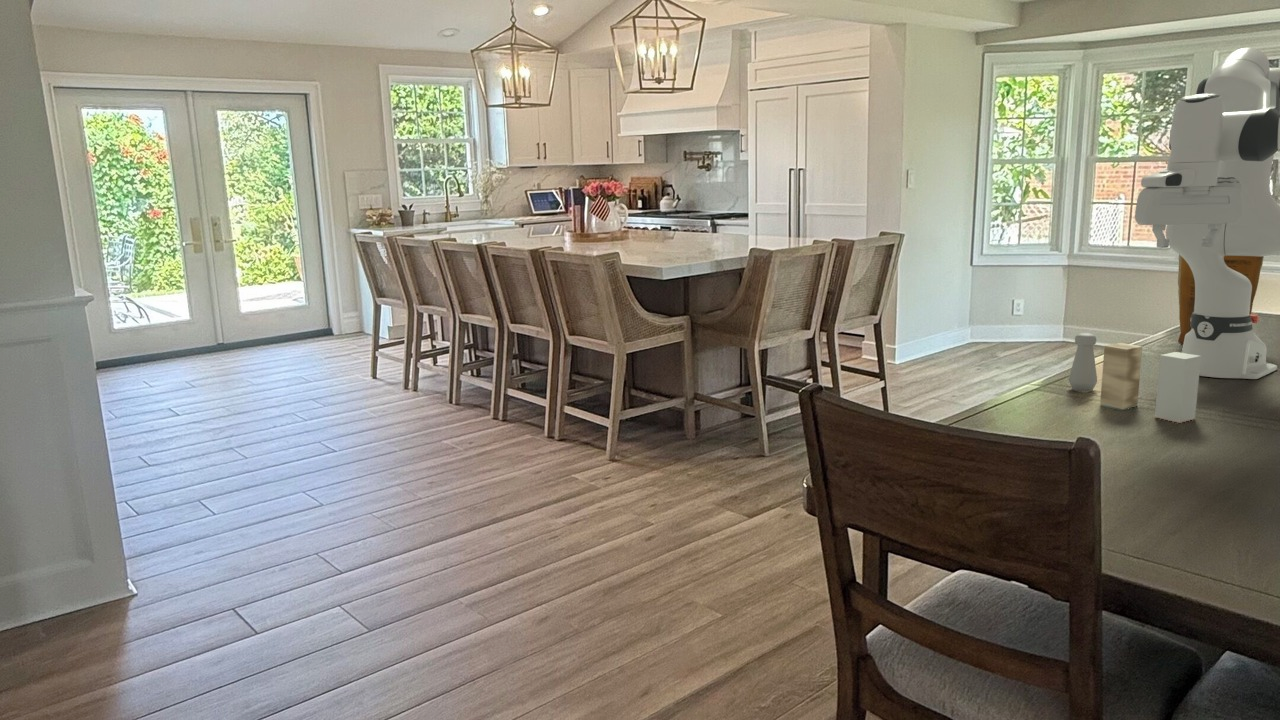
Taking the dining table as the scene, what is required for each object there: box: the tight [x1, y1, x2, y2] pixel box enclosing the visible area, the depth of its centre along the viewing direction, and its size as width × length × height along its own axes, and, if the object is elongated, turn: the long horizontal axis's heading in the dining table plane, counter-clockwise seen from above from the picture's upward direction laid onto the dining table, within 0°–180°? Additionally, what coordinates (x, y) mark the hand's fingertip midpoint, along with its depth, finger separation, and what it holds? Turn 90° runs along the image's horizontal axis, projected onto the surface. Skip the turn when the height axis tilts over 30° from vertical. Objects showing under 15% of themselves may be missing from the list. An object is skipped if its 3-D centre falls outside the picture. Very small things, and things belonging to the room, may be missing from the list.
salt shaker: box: [1068, 332, 1098, 393], centre depth 200 cm, size 6×6×13 cm
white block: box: [1154, 351, 1201, 424], centre depth 176 cm, size 5×5×13 cm
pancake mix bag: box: [1177, 254, 1265, 344], centre depth 239 cm, size 7×19×28 cm, turn 53°
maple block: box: [1099, 342, 1143, 411], centre depth 186 cm, size 5×5×13 cm
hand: (1185, 247), depth 180 cm, fingers open, 8 cm apart
